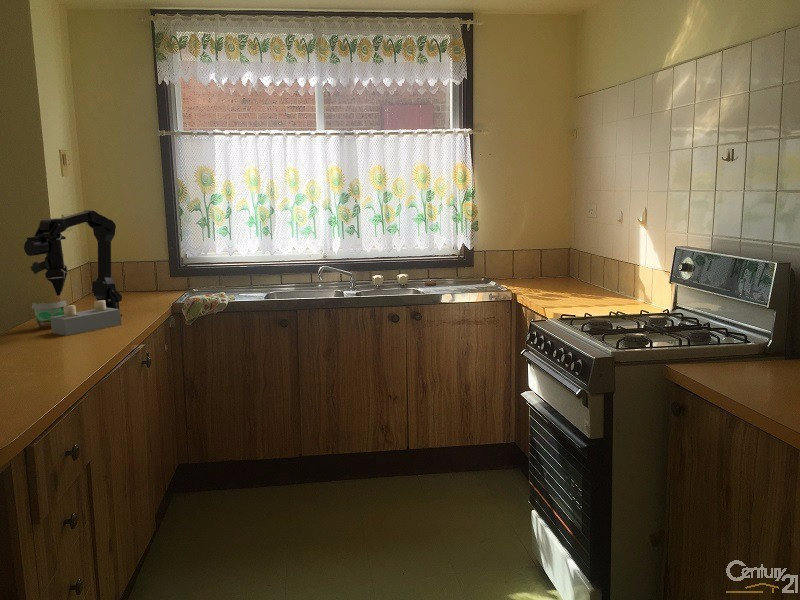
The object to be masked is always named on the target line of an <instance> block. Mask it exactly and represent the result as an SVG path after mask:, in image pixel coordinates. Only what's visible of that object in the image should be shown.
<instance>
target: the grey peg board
mask: <svg viewBox="0 0 800 600" xmlns="http://www.w3.org/2000/svg"><path fill="white" fill-rule="evenodd" d="M120 314H121V309H120V308H119V309H114V308H107V307H106V311H101V312H95V308H93V309H87V310H82V311H76V316H73V317H65V316H64V315H59V316H53V317H50V319H51V328H52V329H51V333H52V334H56V335H61V336H66V337H67V336H71V335H77V334H81V333H87V332H91V331H96V330H102V329H106V328H107V329H108V328H112V327H117V326H121V325H122V316H121V315H120Z"/></svg>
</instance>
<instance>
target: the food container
mask: <svg viewBox="0 0 800 600" xmlns="http://www.w3.org/2000/svg"><path fill="white" fill-rule="evenodd" d="M64 306H68V305H67V301H66V299H64V300H62V301H56V302H55V301H54V302H45V303H34V302H32V304H31V309H33V311H34V316H35V320H36V323H37V328H38V330H52V328H51V319H50V317H53V316H59V315H64V308H63V307H64Z"/></svg>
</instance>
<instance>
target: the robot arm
mask: <svg viewBox="0 0 800 600" xmlns="http://www.w3.org/2000/svg"><path fill="white" fill-rule="evenodd" d="M84 223H86V224H87V225H88V227H90V228H91V229H92V231H93V236H94V238H95V239H96V242H97V278H96V280H95V281H94V280H93V281H92V282H91V284H92V290H91V292H92V293H93V296H94V297H95V299H96V301H99V300H105V303H106V307H107V308H114V309H120V302H122V300H123V295H122V294H121V293H120V292H119V291H117V289H116V288H117V287H116V283H115V281H114V280H113V278H112V241H113V239H114V237H115V235H116V229H117V227H116V223H115V222H114V221H113V220H112V219H110V218H108V217H106V216H104V215H102V214H100V213H98V212H97V211H96V210H93V209H92V210H91V209H90V210H88V209H87V210H83V211H80V212H77V213H73V214H70V215H66V216H64V217H63V216H62V217H59V218H57V217H56V218H44V219H41V220H40V221H39V225H38V228H37V230H36V232H35V234H34V235H33V236H28V237H27V236H26V241H25V242H24V246H23V249H24V253H25V254H26V255H27V256H28V257H34V256H41V255H45V256H44V260H41V261H34V262H32V264H31V265H30V266H29V268H30V271H31V272H33V275H37V274H38V273H40V272H42V271H46V272H45V273H44V274H45V279H46V280H47V281H49V282H51V284H52V286H53V289H54V292H55V294H56V296H61V294H62V292H63V290H64V286H65V283H66V278H67V277H68V276H67V275H68V271H69V270H68V266H67V264H65V260H64V259H65V258H64V257H65V255H64V253H63V244H62V241H63V240H66V238H67V237H66V236H65V235H63V234H62V233H63V232H65V231H67V229H69V228H71V227H74V226H76V225H80V224H84ZM120 315H121V317H122V316H123V314H121V313H120Z"/></svg>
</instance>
